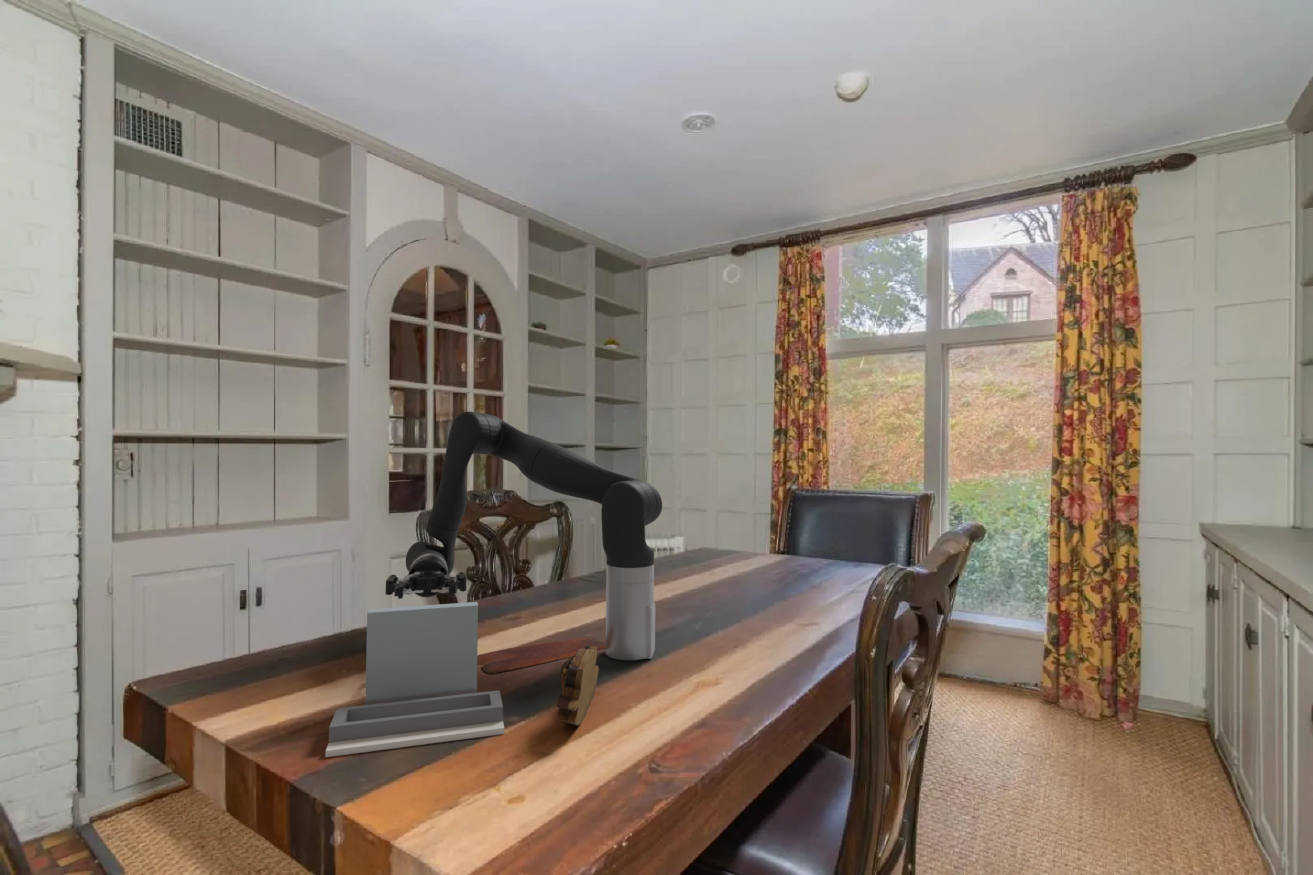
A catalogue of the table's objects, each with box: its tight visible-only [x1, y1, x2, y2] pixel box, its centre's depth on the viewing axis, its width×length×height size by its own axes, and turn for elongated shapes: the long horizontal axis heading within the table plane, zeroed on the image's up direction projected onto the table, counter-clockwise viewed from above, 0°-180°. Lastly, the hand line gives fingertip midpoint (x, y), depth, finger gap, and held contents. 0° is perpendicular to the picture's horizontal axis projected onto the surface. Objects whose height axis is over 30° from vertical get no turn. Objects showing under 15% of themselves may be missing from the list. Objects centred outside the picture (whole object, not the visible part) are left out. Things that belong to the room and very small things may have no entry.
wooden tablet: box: [477, 637, 606, 675], centre depth 121 cm, size 27×10×2 cm, turn 128°
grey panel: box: [364, 601, 479, 705], centre depth 100 cm, size 16×8×14 cm, turn 109°
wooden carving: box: [555, 646, 600, 726], centre depth 91 cm, size 16×5×10 cm, turn 178°
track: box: [325, 689, 505, 758], centre depth 88 cm, size 22×11×3 cm, turn 109°
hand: (426, 591), depth 112 cm, fingers open, 8 cm apart
